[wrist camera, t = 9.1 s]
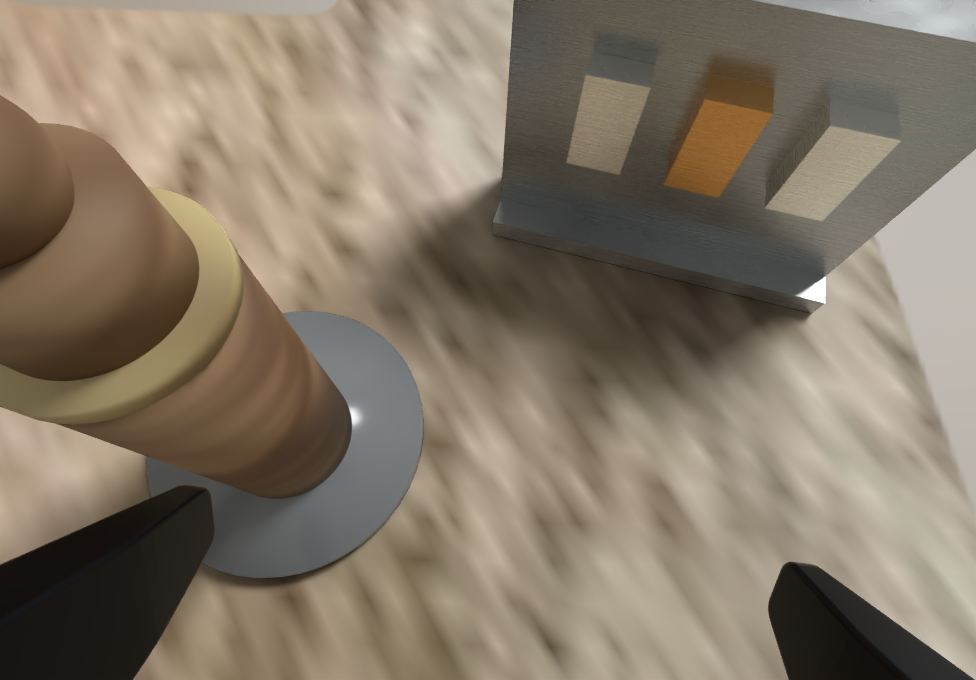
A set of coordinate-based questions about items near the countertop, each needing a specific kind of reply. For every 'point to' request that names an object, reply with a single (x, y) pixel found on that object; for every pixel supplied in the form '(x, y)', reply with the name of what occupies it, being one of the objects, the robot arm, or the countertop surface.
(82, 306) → the pepper mill
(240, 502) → the coaster
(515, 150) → the switch panel
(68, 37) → the countertop surface
